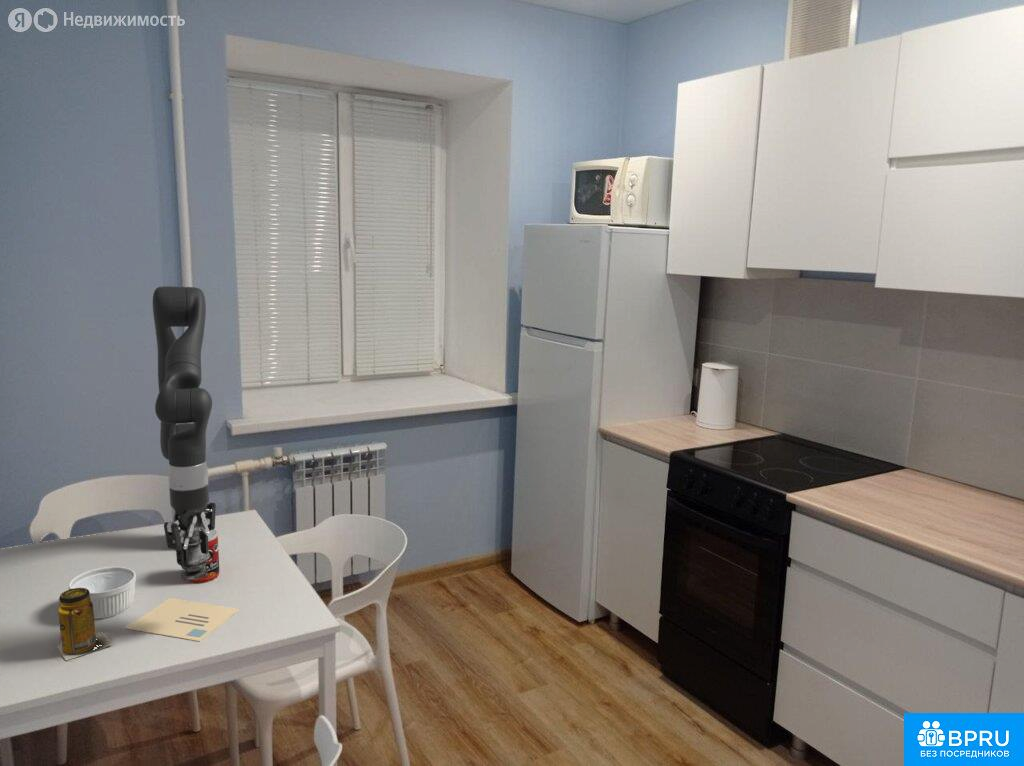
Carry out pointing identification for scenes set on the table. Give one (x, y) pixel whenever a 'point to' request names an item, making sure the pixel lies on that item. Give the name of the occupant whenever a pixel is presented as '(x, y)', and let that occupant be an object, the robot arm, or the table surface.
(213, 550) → the canned food
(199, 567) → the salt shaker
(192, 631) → the letter
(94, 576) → the ramekin
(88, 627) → the condiment
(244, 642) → the table surface
